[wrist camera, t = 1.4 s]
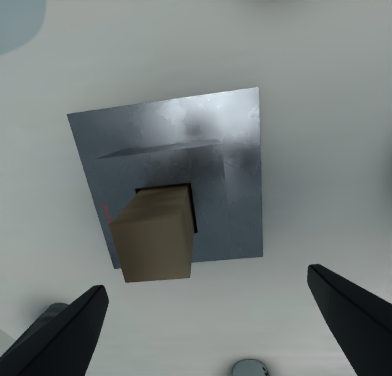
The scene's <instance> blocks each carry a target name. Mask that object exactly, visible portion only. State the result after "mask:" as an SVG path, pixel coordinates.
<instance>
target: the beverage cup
mask: <svg viewBox="0 0 392 376" xmlns="http://www.w3.org/2000/svg"><path fill="white" fill-rule="evenodd" d="M67 306H69V305H67V304H64V303H55V304H53V305H51V306H50V307H49V308H48V309H47V310H46V311H45V312H44V313H43V314H41V315H40V317H39V318H38V319H37V320H36V321H35V322H34V323H33V324H32V325H31V326H30V327H29V328H28V329H27V330H26V331H25V332H24V333H23V334H22V335H21V336H20V337H19V338H18V339H17V340H16V341H15V343H14V344H13V345H12V346H11V347H10V348H9V349H8V350H7V351H6V352H5V353H4V354H3V355H2V356H1V357H0V360H1V359H2V358H3V357H4V356H5V355H6V354H8V353H9V352H10V351H12V350H13V349H14V348H15V347H17V346H18V345H19V344H20V343H22V342H23V341H24V340H25V339H27V338H28V337H29V336H31V335H32V334H33V333H34V332H36V331H37V330H38V329H39V328H41V327H42V326H43V325H44V324H46V323H47V322H48V321H50V320H51V319H52V318H53V317H55V316H56V315H57V314H58V313H60V312H61V311H62V310H63V309H65V308H66V307H67Z"/></svg>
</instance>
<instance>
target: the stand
mask: <svg viewBox="0 0 392 376" xmlns="http://www.w3.org/2000/svg"><path fill="white" fill-rule="evenodd" d="M67 117H68V120H69V123H70V126H71V130H72V133H73V136H74V139H75V143H76V146H77V149H78V152H79V156H80V159H81V162H82V165H83V169H84V172H85V175H86V178H87V182H88V185H89V188H90V191H91V195H92V198H93V201H94V204H95V208H96V211H97V214H98V217H99V221H100V224H101V227H102V230H103V234H104V237H105V240H106V243H107V247H108V250H109V253H110V256H111V260H112V263H113V266H114V269H119V268H121V265H120V262H119V259H118V255H117V252H116V248H115V245H114V242H113V238H112V235H111V231H110V228H109V224H110V223H111V222H112V221H113V220H114V219H115V218H116V216H117V215H118V214H119V213H120V212H121V211H122V210H123V209H124V208H125V207H126V205H127V204H128V203H129V202H130V201H131V200H132V199H133V198H134V197H135V196H136V194H137V193H138V192H139V191H140V190H141V189H142V188H145V187H154V186H163V185H172V184H181V183H190V182H191V187H192V194H193V201H194V209H195V216H196V217H195V225H194V237H193V249H192V261H191V263H192V262H204V261H216V260H228V259H240V258H252V257H263V236H262V197H261V158H260V119H259V87H254V88H247V89H240V90H233V91H226V92H219V93H212V94H205V95H198V96H191V97H184V98H177V99H170V100H163V101H156V102H149V103H142V104H135V105H128V106H121V107H113V108H106V109H99V110H92V111H85V112H78V113H71V114H67Z"/></svg>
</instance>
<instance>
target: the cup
mask: <svg viewBox="0 0 392 376" xmlns="http://www.w3.org/2000/svg"><path fill="white" fill-rule="evenodd" d="M232 376H270V375H269V373H268V371H267V369H266V367H265V365H264V364H263V363H261V362H259V361H257V360H243V361H240V362H239V363H237V364H236V365H235V366H234V368H233V375H232Z"/></svg>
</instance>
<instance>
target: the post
mask: <svg viewBox="0 0 392 376" xmlns="http://www.w3.org/2000/svg"><path fill="white" fill-rule="evenodd" d="M195 217H196V216H195V209H194V201H193V194H192V187H191V182H190V183H181V184H172V185H163V186H154V187H145V188H142V189H141V190H140V191H139V192H138V193H137V194H136V196H135V197H134V198H133V199H132V200H131V201H130V202H129V203H128V204H127V205H126V207H125V208H124V209H123V210H122V211H121V212H120V213H119V214H118V215H117V216H116V218H115V219H114V220H113V221H112V222H111V223H110V224H109V228H110V231H111V235H112V238H113V242H114V245H115V248H116V252H117V255H118V259H119V262H120V265H121V269H122V272H123V276H124V279H125V282H126V283H129V282H142V281H155V280H168V279H181V278H190V273H191V261H192V249H193V237H194V225H195Z"/></svg>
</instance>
